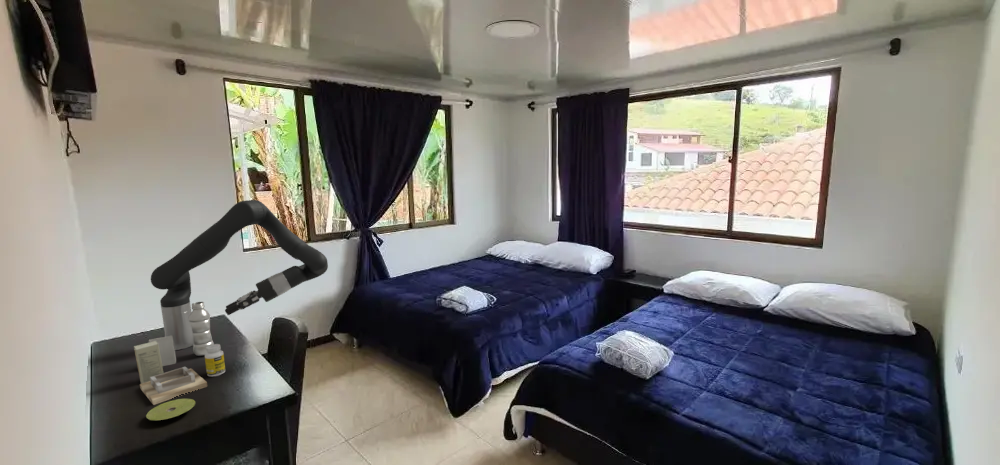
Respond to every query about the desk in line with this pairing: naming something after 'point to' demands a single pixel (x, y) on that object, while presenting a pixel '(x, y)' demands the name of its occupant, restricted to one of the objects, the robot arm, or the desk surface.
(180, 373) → the socket board
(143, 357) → the skincare box
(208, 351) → the supplement bottle
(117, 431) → the desk surface
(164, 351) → the tea bag
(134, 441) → the desk surface
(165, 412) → the green disc with hole
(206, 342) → the plastic bottle
